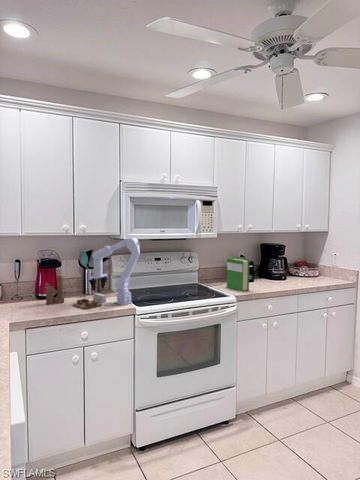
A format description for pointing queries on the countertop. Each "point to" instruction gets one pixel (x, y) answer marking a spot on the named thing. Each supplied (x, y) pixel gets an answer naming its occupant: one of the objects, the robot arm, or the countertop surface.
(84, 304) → the rack
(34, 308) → the countertop surface
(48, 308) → the countertop surface
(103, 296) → the light gray block
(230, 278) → the hardback book
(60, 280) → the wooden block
